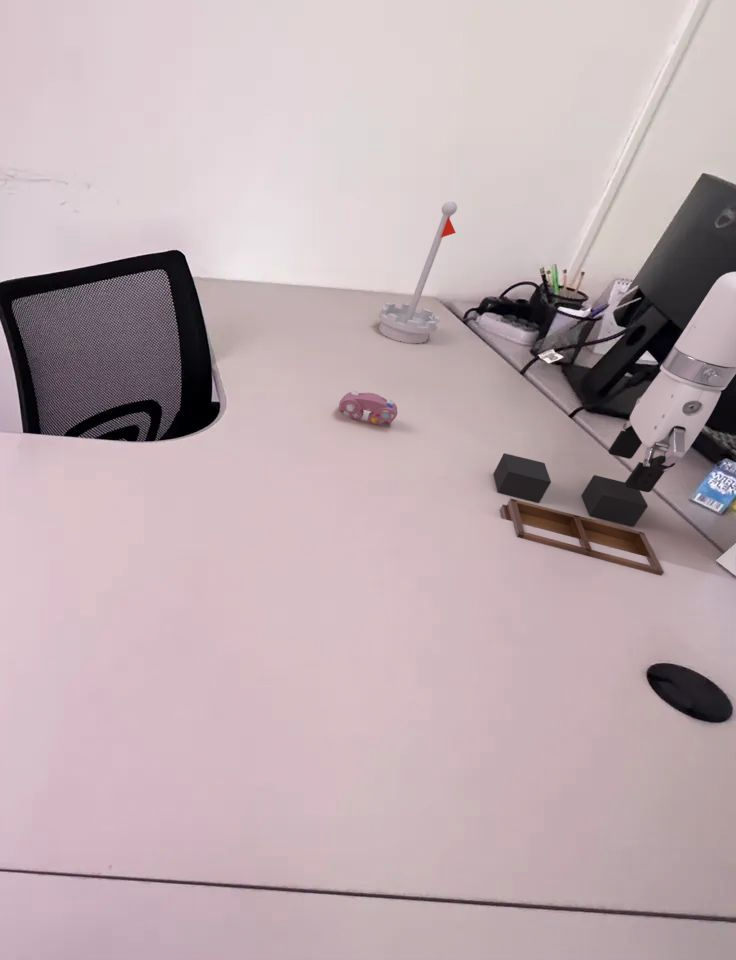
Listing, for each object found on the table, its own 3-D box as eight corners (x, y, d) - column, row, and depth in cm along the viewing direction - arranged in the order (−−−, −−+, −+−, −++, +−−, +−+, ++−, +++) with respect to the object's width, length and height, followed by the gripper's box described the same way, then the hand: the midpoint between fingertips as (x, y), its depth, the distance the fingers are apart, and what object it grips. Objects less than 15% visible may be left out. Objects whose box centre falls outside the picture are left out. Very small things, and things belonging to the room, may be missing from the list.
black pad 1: (533, 483, 109) (544, 462, 107) (539, 503, 104) (551, 482, 102) (493, 473, 110) (503, 452, 108) (497, 492, 106) (508, 471, 103)
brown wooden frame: (636, 545, 97) (646, 531, 96) (657, 588, 89) (668, 574, 88) (499, 509, 102) (507, 496, 100) (508, 548, 94) (516, 534, 93)
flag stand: (365, 322, 165) (408, 192, 148) (414, 324, 166) (462, 196, 149) (390, 344, 154) (439, 206, 137) (442, 346, 156) (497, 211, 139)
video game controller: (333, 422, 123) (341, 398, 117) (338, 403, 125) (347, 379, 119) (389, 436, 121) (400, 413, 115) (393, 416, 123) (405, 393, 117)
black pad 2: (623, 505, 106) (637, 485, 104) (633, 527, 101) (648, 506, 99) (581, 495, 107) (593, 474, 105) (589, 515, 103) (602, 494, 100)
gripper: (757, 402, 83) (674, 510, 93) (707, 351, 96) (639, 450, 106) (688, 387, 85) (613, 495, 95) (648, 338, 98) (587, 437, 108)
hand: (627, 471), depth 100 cm, fingers open, 9 cm apart
